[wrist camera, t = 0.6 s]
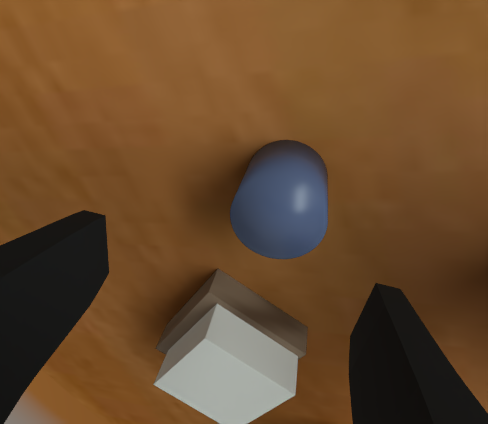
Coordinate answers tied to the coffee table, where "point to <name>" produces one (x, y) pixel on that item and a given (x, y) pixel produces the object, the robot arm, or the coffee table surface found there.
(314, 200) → the navy rounded cylinder
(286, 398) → the cream top block
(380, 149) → the coffee table surface
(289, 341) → the walnut base block
